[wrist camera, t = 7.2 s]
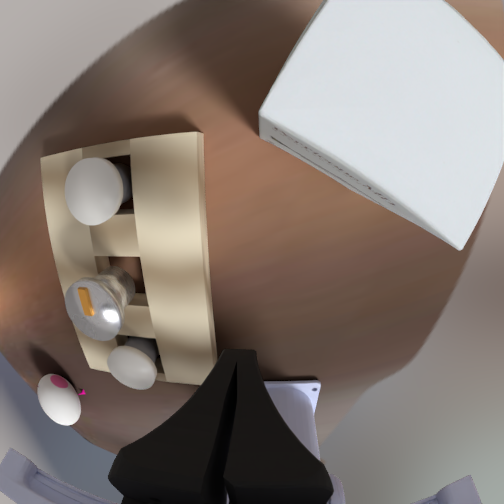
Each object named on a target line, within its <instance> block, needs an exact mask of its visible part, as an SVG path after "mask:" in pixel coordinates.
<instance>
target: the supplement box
mask: <svg viewBox="0 0 504 504" xmlns="http://www.w3.org/2000/svg"><path fill="white" fill-rule="evenodd" d="M259 137H260V138H261V139H263V140H265V141H267V142H269V143H271V144H273V145H275V146H277V147H279V148H281V149H282V150H284V151H286V152H288V153H290V154H291V155H293V156H295V157H297V158H299V159H300V160H302V161H304V162H306V163H307V164H309V165H311V166H313V167H314V168H316V169H318V170H319V171H321V172H323V173H324V174H326V175H328V176H329V177H331V178H333V179H334V180H336V181H338V182H339V183H341V184H342V185H344V186H345V187H347V188H348V189H350V190H352V191H354V192H356V193H358V194H360V195H362V196H364V197H366V198H367V199H369V200H371V201H373V202H375V203H377V204H379V205H381V206H383V207H384V208H386V209H388V210H390V211H392V212H394V213H396V214H398V215H400V216H401V217H403V218H405V219H407V220H409V221H411V222H413V223H415V224H416V225H418V226H420V227H422V228H423V229H425V230H427V231H428V232H430V233H432V234H433V235H435V236H437V237H438V238H440V239H442V240H443V241H445V242H447V243H448V244H450V245H451V246H453V247H454V248H456V249H457V250H462V249H463V247H464V245H465V244H466V242H467V240H468V238H469V236H470V235H471V233H472V231H473V229H474V227H475V225H476V223H477V222H478V220H479V218H480V216H481V214H482V212H483V209H484V207H485V205H486V203H487V201H488V199H489V196H490V194H491V192H492V190H493V187H494V185H495V183H496V180H497V178H498V175H499V172H500V170H501V167H502V165H503V162H504V60H503V59H502V57H501V56H500V55H499V54H498V53H497V52H496V50H495V49H494V48H493V47H492V46H491V45H490V44H489V42H488V41H487V40H486V39H485V38H484V37H483V36H482V35H481V34H480V33H479V32H478V31H477V30H476V29H475V28H474V27H473V26H472V25H471V24H470V23H469V22H468V21H467V20H466V19H465V18H464V17H463V16H462V15H461V14H460V13H459V12H458V11H456V10H455V9H454V8H453V7H452V6H451V5H449V4H448V3H447V2H445V1H444V0H323V2H322V3H321V5H320V6H319V8H318V9H317V11H316V12H315V14H314V15H313V17H312V18H311V20H310V22H309V23H308V25H307V26H306V28H305V30H304V31H303V33H302V34H301V36H300V38H299V39H298V41H297V43H296V44H295V46H294V48H293V49H292V51H291V53H290V55H289V56H288V58H287V60H286V62H285V64H284V65H283V67H282V69H281V71H280V73H279V74H278V76H277V78H276V80H275V82H274V84H273V85H272V87H271V89H270V91H269V93H268V95H267V97H266V98H265V100H264V102H263V104H262V106H261V107H260V110H259Z"/></svg>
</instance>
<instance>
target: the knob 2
mask: <svg viewBox="0 0 504 504" xmlns="http://www.w3.org/2000/svg"><path fill="white" fill-rule="evenodd" d="M158 354H159V350H158V345H157V341H156V339H155V338H145V337H136V336H130V337H129V339H128V340H127V342H126V344H125V345H124V346H118V347H116V348H114V349H113V351H112V352H111V354H110V355H109V357H108V359H107V365H108V368H109V370H110V372H111V373H112V375H113V376H114V377H115V378H116V379H117V380H118V381H120V382H121V383H123V384H124V385H126V386H128V387H131V388H134V389H148V388H150V387H151V386H152V385H153V383H154V381H155V378H156V376H157V369H156V366H155V364H154V363H155V361H156V359H157V357H158Z"/></svg>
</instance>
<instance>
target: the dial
mask: <svg viewBox="0 0 504 504" xmlns="http://www.w3.org/2000/svg"><path fill="white" fill-rule="evenodd" d="M134 295H135V284H134V281H133V279H132V277H131V276H130V275H129V274H128V272H126V271H125V270H124V269H122V268H120V267H117V266H109V267H107V268H105V269H104V270H103V271H102V272H101V273H99V274H98V275H97V276H96V277H95V278H93V277H83V278H80V279H79V280H77V281H76V282H75V283H74V284H72V285H71V286H70V287H69V288H68V290H67V292H66V295H65V306H66V310H67V312H68V315H69V317H70V319H71V320H72V322H73V323H74V324H75V326H76V327H77V328H78V329H79V330H80V331H81V332H83V333H84V334H85V335H87V336H88V337H90V338H92V339H95V340H99V341H108V340H111V339H113V338H114V337H115V336H116V335H117V334H118V332H119V331H120V329H121V328H122V326H123V324H124V321H125V313H124V309H125V308H126V306H127V305H128V304H129V303H130V301H131V300H132V299H133V297H134Z"/></svg>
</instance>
